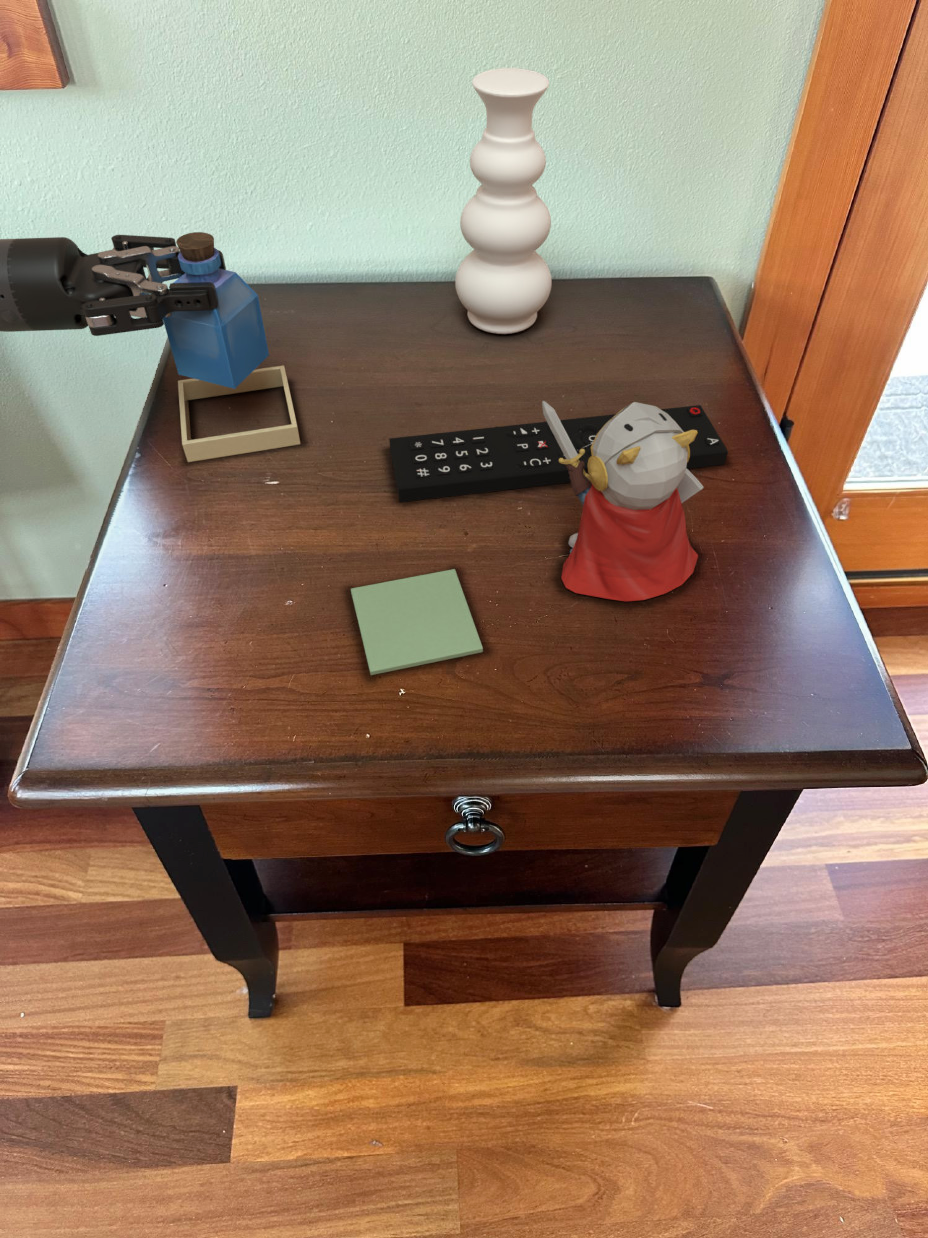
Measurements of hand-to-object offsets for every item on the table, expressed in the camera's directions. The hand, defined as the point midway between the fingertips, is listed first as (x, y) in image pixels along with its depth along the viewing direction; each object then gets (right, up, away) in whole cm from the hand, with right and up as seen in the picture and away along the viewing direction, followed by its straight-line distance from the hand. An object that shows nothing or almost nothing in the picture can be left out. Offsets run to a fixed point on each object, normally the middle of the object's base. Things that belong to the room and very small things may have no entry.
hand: (219, 278), depth 74 cm
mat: (+18, -30, -6) cm, 36 cm away
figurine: (+35, -25, -1) cm, 43 cm away
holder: (-1, -10, +12) cm, 15 cm away
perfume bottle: (-1, -6, +6) cm, 9 cm away
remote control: (+31, -15, +8) cm, 35 cm away
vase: (+26, +5, +24) cm, 36 cm away
